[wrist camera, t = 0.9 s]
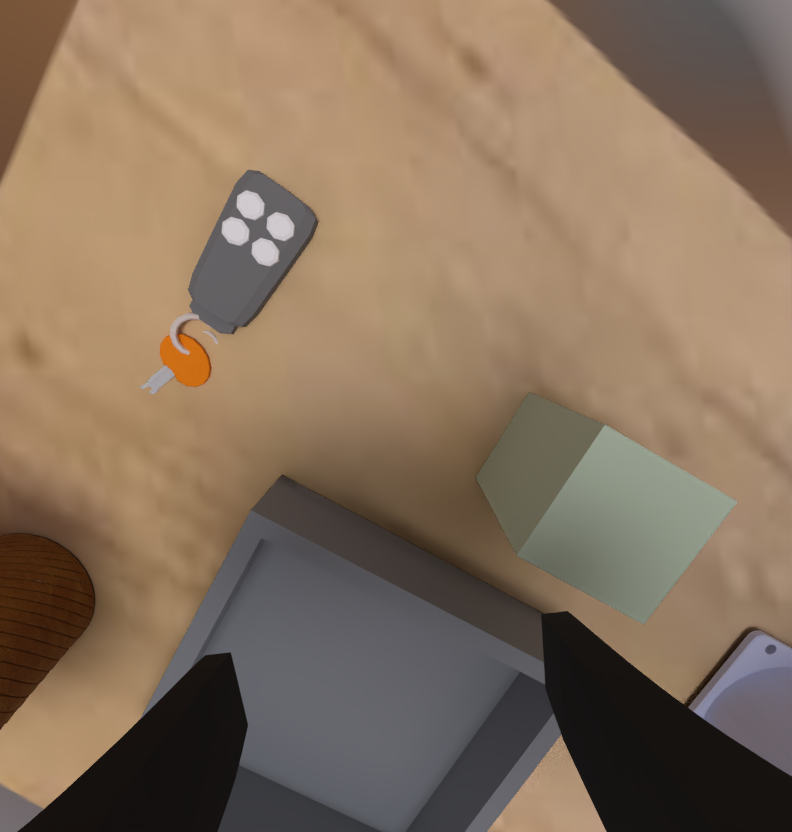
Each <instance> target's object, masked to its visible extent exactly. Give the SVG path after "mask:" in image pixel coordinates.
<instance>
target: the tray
mask: <svg viewBox="0 0 792 832" xmlns="http://www.w3.org/2000/svg"><path fill="white" fill-rule="evenodd" d="M541 614H543V613H541V612H539V611H538V610H536V609H534V608H532V607H530V606H528V605H526V604H524V603H523V602H521V601H519V600H517V599H515V598H513V597H511V596H509V595H507V594H506V593H504V592H502V591H500V590H498V589H496V588H494V587H492V586H491V585H489V584H487V583H485V582H483V581H481V580H479V579H477V578H475V577H474V576H472V575H470V574H468V573H466V572H464V571H462V570H460V569H458V568H457V567H455V566H453V565H451V564H449V563H447V562H445V561H443V560H442V559H440V558H438V557H436V556H434V555H432V554H430V553H428V552H426V551H425V550H423V549H421V548H419V547H417V546H415V545H413V544H411V543H410V542H408V541H406V540H404V539H402V538H400V537H398V536H396V535H394V534H393V533H391V532H389V531H387V530H385V529H383V528H381V527H379V526H377V525H376V524H374V523H372V522H370V521H368V520H366V519H364V518H362V517H361V516H359V515H357V514H355V513H353V512H351V511H349V510H347V509H345V508H344V507H342V506H340V505H338V504H336V503H334V502H332V501H330V500H329V499H327V498H325V497H323V496H321V495H319V494H317V493H315V492H313V491H312V490H310V489H308V488H306V487H304V486H302V485H300V484H298V483H296V482H295V481H293V480H291V479H289V478H287V477H285V476H283V475H281V477H280V478H279V479H278V480H277V481H276V482H275V483H274V484H273V486H272V487H271V488H270V489H269V490H268V491H267V492H266V494H265V495H264V496H263V497H262V498H261V499H260V500H259V502H258V503H257V504H256V505H255V506H254V507H253V508H252V510H251V511H250V513H249V515H248V517H247V519H246V520H245V522H244V524H243V526H242V528H241V530H240V532H239V534H238V536H237V538H236V539H235V541H234V543H233V545H232V547H231V549H230V551H229V553H228V555H227V556H226V558H225V560H224V562H223V564H222V566H221V568H220V570H219V572H218V573H217V575H216V577H215V579H214V581H213V583H212V585H211V587H210V589H209V590H208V592H207V594H206V596H205V598H204V600H203V602H202V604H201V606H200V607H199V609H198V611H197V613H196V615H195V617H194V619H193V621H192V623H191V624H190V626H189V628H188V630H187V632H186V634H185V636H184V638H183V640H182V641H181V643H180V645H179V647H178V649H177V651H176V653H175V655H174V657H173V659H172V660H171V662H170V664H169V666H168V668H167V670H166V672H165V674H164V676H163V677H162V679H161V681H160V683H159V685H158V687H157V689H156V691H155V693H154V694H153V696H152V698H151V700H150V702H149V704H148V706H147V708H146V710H145V711H144V713H143V715H142V717H143V716H144V715H145V714H146V713H147V712H148V711H149V710H150V709H151V708H152V707H153V706H154V705H155V704H156V703H157V702H158V701H159V700H160V699H161V698H162V697H163V696H164V695H165V694H166V693H167V692H168V691H169V690H170V689H171V688H172V687H173V686H174V685H175V684H176V683H177V682H178V681H179V680H180V679H181V678H182V677H183V676H184V675H185V674H186V673H187V672H188V671H189V670H190V669H191V668H192V667H193V666H194V665H195V664H196V663H197V662H198V661H199V660H200V659H201V658H203V657H204V656H205V655H211V654H220V653H228V652H231V655H232V659H233V663H234V667H235V672H236V676H237V680H238V684H239V688H240V693H241V697H242V701H243V705H244V710H245V714H246V718H247V722H248V728H247V733H246V737H245V742H244V746H243V751H242V755H241V759H240V763H239V767H238V771H237V775H236V779H235V782H234V785H233V788H232V791H231V794H230V797H229V800H228V803H227V806H226V809H225V812H224V815H223V817H222V820H221V823H220V826H219V829H218V832H487V831H488V830H489V828H490V827H491V826H492V824H493V823H494V822H495V820H496V819H497V818H498V816H499V815H500V814H501V813H502V811H503V810H504V809H505V807H506V806H507V805H508V803H509V802H510V801H511V799H512V798H513V797H514V795H515V794H516V793H517V792H518V790H519V789H520V788H521V786H522V785H523V784H524V782H525V781H526V780H527V778H528V777H529V776H530V775H531V773H532V772H533V771H534V769H535V768H536V767H537V765H538V764H539V763H540V761H541V760H542V759H543V757H544V756H545V755H546V754H547V752H548V751H549V750H550V748H551V747H552V746H553V744H554V743H555V742H556V740H557V739H558V738H559V737H560V735H561V732H560V729H559V726H558V724H557V721H556V718H555V715H554V712H553V710H552V707H551V704H550V701H549V698H548V695H547V692H546V689H545V673H544V656H543V638H542V621H541ZM142 717H141V718H142Z"/></svg>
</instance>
